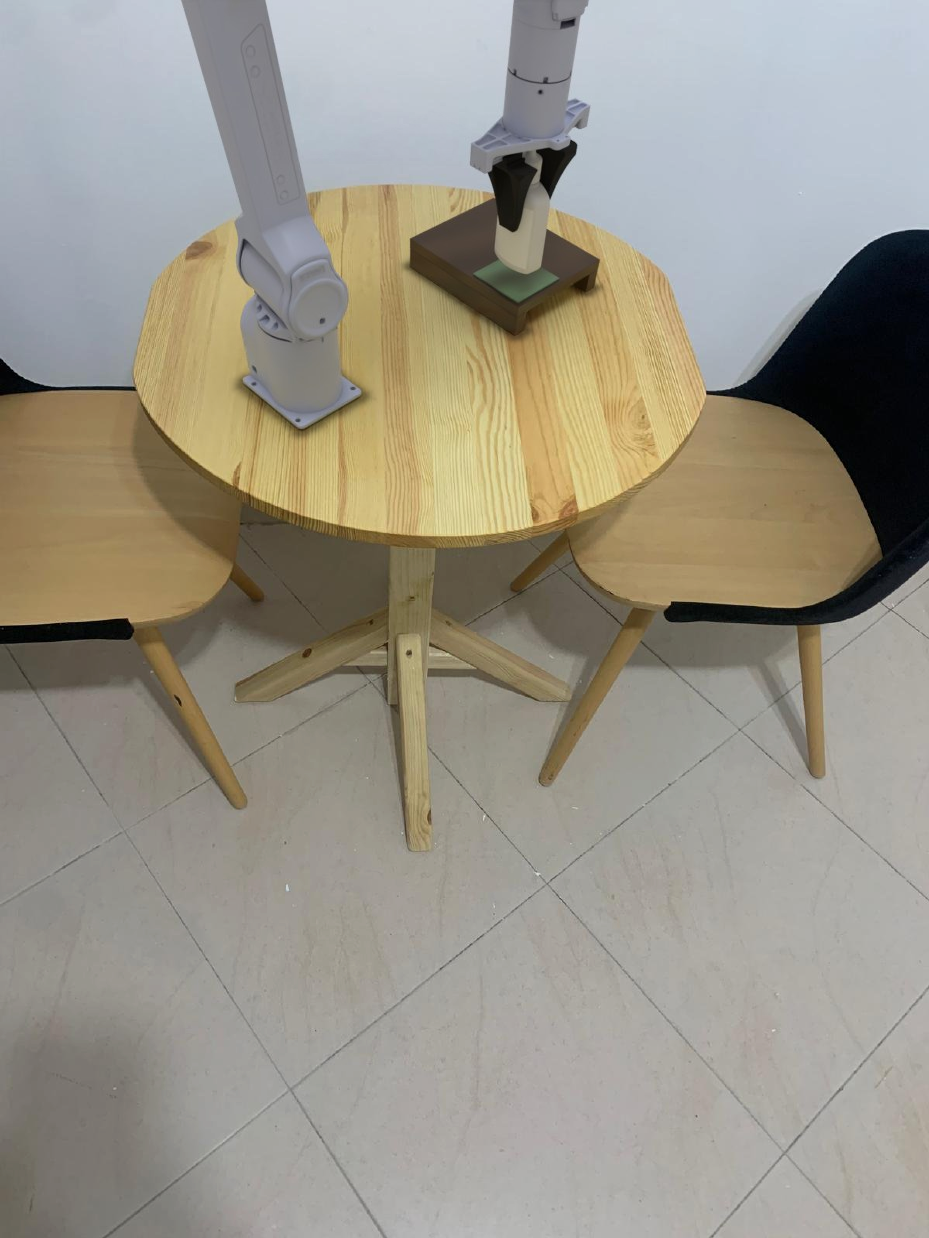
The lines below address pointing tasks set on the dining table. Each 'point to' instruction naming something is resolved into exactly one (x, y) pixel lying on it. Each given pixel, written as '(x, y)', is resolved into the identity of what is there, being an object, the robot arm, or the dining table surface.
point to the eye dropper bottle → (526, 226)
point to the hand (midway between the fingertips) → (521, 220)
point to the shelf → (496, 267)
